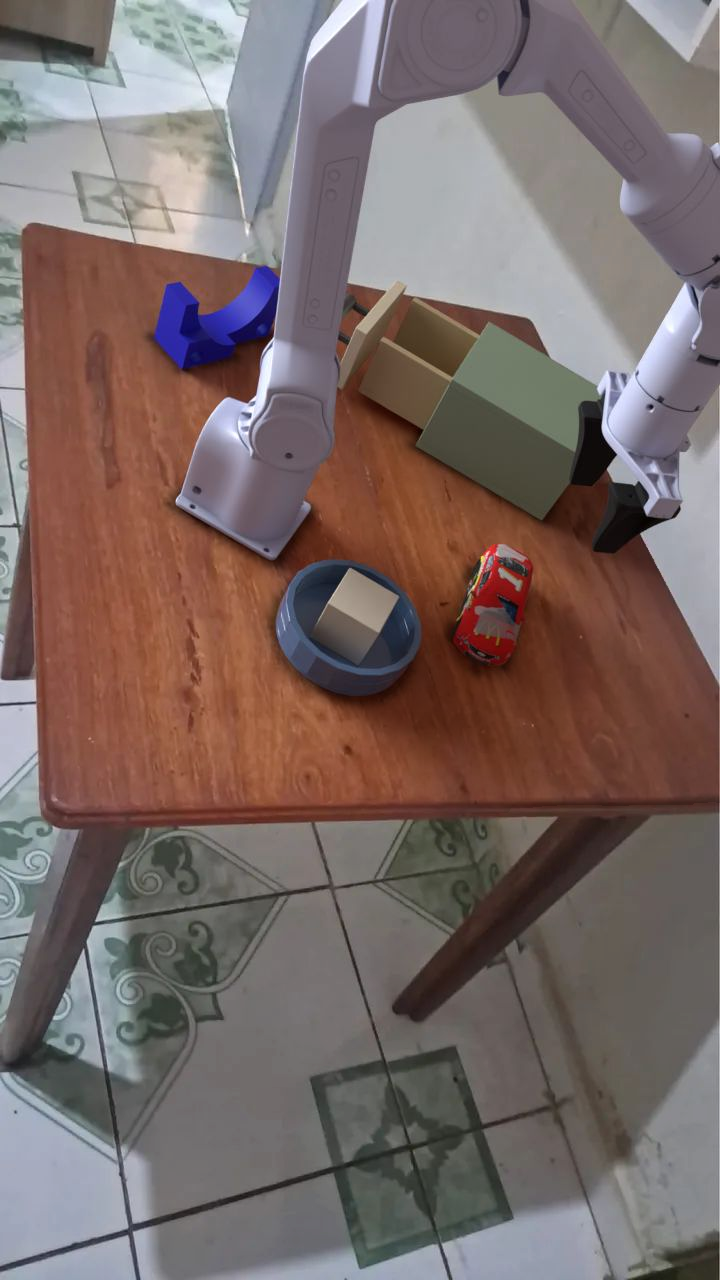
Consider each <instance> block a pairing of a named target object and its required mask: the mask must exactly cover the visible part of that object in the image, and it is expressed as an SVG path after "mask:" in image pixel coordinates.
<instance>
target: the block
mask: <svg viewBox="0 0 720 1280" xmlns="http://www.w3.org/2000/svg"><path fill="white" fill-rule="evenodd" d="M398 598H399V596H398V595H396V594H394V593H393V592H391V591H389V590H388V589H386V588H384V587H382V586H381V585H379V584H377V583H376V582H374V581H372V580H370V579H369V578H367V577H365V576H364V575H362V574H360V573H359V572H357V571H355V570H353V569H352V568H349V570H348V571H347V573H346V574H345V576H344V578H343V579H342V581H341V583H340V584H339V586H338V587H337V589H336V591H335V592H334V594H333V595H332V597H331V599H330V600H329V602H328V603H327V605H326V607H325V609H324V611H323V613H322V615H321V616H320V618H319V620H318V622H317V624H316V626H315V627H314V629H313V631H312V633H311V635H310V638H312V639H314V640H315V641H317V642H319V643H320V644H322V645H324V646H326V647H327V648H329V649H331V650H332V651H334V652H336V653H338V654H339V655H341V656H343V657H344V658H346V659H348V660H350V661H351V662H353V663H355V664H356V665H358V666H359V665H360V663H361V662H362V660H363V658H364V657H365V655H366V654H367V652H368V651H369V649H370V647H371V646H372V644H373V643H374V641H375V640H376V638H377V636H378V635H379V633H380V631H381V630H382V628H383V626H384V624H385V622H386V620H387V619H388V617H389V615H390V613H391V611H392V609H393V608H394V606H395V604H396V602H397V600H398Z"/></svg>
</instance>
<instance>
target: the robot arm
mask: <svg viewBox="0 0 720 1280" xmlns="http://www.w3.org/2000/svg"><path fill="white" fill-rule="evenodd" d="M495 79H496V83H497V93H498V95H499V96H502V97H514V96H520V95H521V96H522V95H528V94H529V95H530V94H538V93H542V94H544V95H545V96H546V97H547V98H549V100H550V101H551V102H552V103H553V104H554V105H555V106H556V107H557V108H558V109H559V110H560V111H561V113H562V114H563V115H564V116H565V117H566V118H567V119H568V120H569V122H571V123H572V125H574V126H575V128H576V129H577V130H578V131H579V132H580V133H581V134H582V135H583V136H584V137H585V139H587V141H588V142H590V144H591V145H592V146H593V147H594V148H595V149H596V150H597V152H599V153H600V155H601V156H602V157H603V158H604V159H605V160H606V161H607V163H609V164H610V165H611V167H612V168H613V169H614V170H615V171H616V172H617V173H618V174H619V175H620V176H621V178H622V185H621V189H620V195H619V209H620V211H621V212H622V214H623V215H624V216H625V217H626V218H627V220H628V221H629V222H630V224H631V225H633V226H634V228H635V229H636V230H637V231H638V232H639V233H640V235H641V236H642V237H643V238H644V239H645V241H647V243H648V244H649V245H650V246H651V247H652V249H653V250H654V251H655V252H656V254H658V256H659V257H660V258H661V259H662V261H664V263H665V264H666V265H667V267H669V269H670V270H671V271H672V272H673V273H674V275H675V276H676V277H677V278H679V280H681V281H682V282H684V284H683V285H682V287H681V289H680V290H679V292H678V294H677V296H676V297H675V300H674V301H673V303H672V304H671V307H670V308H669V310H668V312H667V313H666V314H665V316H664V318H663V320H662V322H661V323H660V325H659V327H658V329H657V330H656V332H655V334H654V336H653V338H652V339H651V341H650V343H649V344H648V346H647V348H646V350H645V352H644V353H643V355H642V357H641V358H640V361H639V362H638V364H637V365H636V367H635V369H634V371H633V372H632V374H631V376H630V374H629V372H622V371H615V370H609V369H606V370H605V373H604V374H603V376H602V378H601V380H600V381H599V384H598V385H597V386H598V387H597V390H598V393H599V395H600V396H601V399H598V400H597V402H595V401H582V402H581V403H580V405H579V407H578V412H579V433H578V441H577V447H576V451H575V456H574V460H573V464H572V468H571V472H570V477H569V481H570V483H569V485H571V486H579V487H588V488H589V487H590V488H593V487H594V485H596V484H597V482H598V481H600V479H601V478H602V477H603V476H604V474H605V472H606V471H607V470H608V468H609V467H610V466H611V464H612V463H613V461H614V460H615V458H617V456H618V457H619V459H620V460H621V461H622V462H623V464H624V465H625V466H626V467H627V468H628V470H629V471H630V472H631V473H632V475H633V476H634V477H635V478H636V480H637V482H636V483H635V485H634V484H633V483H625V482H616V481H615V482H614V481H611V482H609V484H608V486H607V487H608V488H607V489H608V492H607V494H608V497H607V503H606V507H605V511H604V513H603V516H602V519H601V521H600V523H599V524H598V526H597V529H596V531H595V533H594V535H593V538H592V540H591V549H592V551H593V552H594V553H600V554H601V553H602V554H612V555H614V554H616V553H617V552H619V551H620V550H621V549H622V548H623V547H624V546H626V545H627V544H628V543H629V542H631V541H632V540H633V539H635V538H637V536H639V535H640V534H642V533H644V532H645V531H648V530H649V529H651V528H653V527H656V526H658V525H659V524H660V525H661V524H662V523H665V522H668V521H670V520H673V519H675V518H677V517H678V515H679V514H680V512H681V511H682V510H681V509H682V508H681V504H683V502H684V500H683V497H682V495H681V491H680V457H681V455H680V453H686V452H688V450H689V449H690V448H691V446H692V443H691V440H690V438H689V436H688V433H689V432H690V430H691V428H693V426H694V424H695V423H696V421H697V419H698V418H699V417H700V415H701V414H702V413H703V411H704V409H705V407H706V406H707V405H708V403H709V402H710V400H711V399H712V397H713V396H714V395H715V393H716V391H717V389H718V388H719V387H720V142H716V143H714V144H713V145H712V146H711V147H710V148H709V146H708V145H707V144H706V143H705V141H704V140H703V138H702V137H700V136H699V135H697V134H695V133H667V132H665V130H664V129H663V128H662V126H661V124H660V123H659V122H658V120H657V119H656V118H655V116H654V115H653V113H652V112H651V110H650V108H648V106H647V105H646V103H645V102H644V101H643V99H642V98H641V96H640V95H639V93H638V92H637V91H636V89H635V88H634V86H633V85H632V83H631V82H630V81H629V79H628V78H627V76H626V75H625V73H624V72H623V71H622V70H621V67H620V66H618V64H617V62H616V61H615V60H614V58H613V56H612V55H611V54H610V53H609V51H608V50H607V48H606V47H605V45H604V44H603V42H602V41H601V40H600V38H599V37H598V36H597V34H596V33H595V31H594V30H593V28H592V27H591V26H590V24H589V22H588V21H587V19H585V17H584V15H582V12H581V11H580V10H579V8H578V7H577V6H576V4H575V3H574V1H572V0H341V1H340V3H339V4H338V5H337V7H336V8H335V9H334V10H333V11H332V13H331V14H330V16H329V17H328V18H327V19H326V21H324V23H323V24H322V26H321V27H320V28H319V30H318V31H317V32H316V34H315V35H314V36H313V38H312V40H311V41H310V44H309V48H308V51H307V54H306V59H305V64H304V70H303V75H302V84H301V90H300V91H301V92H300V99H299V100H300V101H299V111H298V118H297V119H298V120H297V127H296V137H295V145H294V154H293V162H292V165H293V166H292V170H291V171H292V172H291V180H290V189H289V196H288V205H287V214H286V215H287V216H286V225H285V234H284V242H283V249H282V251H283V252H282V261H281V267H280V277H279V279H280V286H279V294H278V303H277V312H276V316H275V320H274V333H273V336H272V339H270V341H269V342H268V344H267V345H266V346H265V347H264V349H263V351H262V353H261V356H260V363H259V371H260V372H259V379H258V384H257V390H256V395H255V396H254V397H252V398H251V400H249V402H244V401H242V400H238V399H236V398H233V397H230V396H228V397H225V398H224V399H223V400H222V401H220V402H219V404H218V405H217V406H216V408H215V409H214V410H213V411H212V413H211V414H210V416H209V417H208V419H207V420H206V422H205V424H204V425H203V427H202V430H201V432H200V434H199V436H198V439H197V441H196V444H195V446H194V449H193V453H192V455H191V459H190V463H189V466H188V468H187V472H186V475H185V478H184V482H183V486H182V489H181V492H180V494H179V495H178V496H177V497H176V499H175V505H176V506H177V507H178V508H179V509H182V510H183V511H185V512H187V513H188V514H190V515H192V516H193V517H195V518H196V519H198V520H200V521H202V522H203V523H205V524H207V525H208V526H210V527H212V528H214V529H216V530H217V531H219V532H220V533H223V534H224V535H226V536H228V537H229V538H231V539H232V540H234V541H236V542H237V543H239V544H241V545H243V546H244V547H246V548H248V549H250V550H251V551H253V552H254V553H256V554H258V555H260V556H261V557H263V558H265V559H267V560H269V561H275V560H276V559H277V558H278V557H279V555H280V554H281V552H282V551H283V550H284V549H285V547H286V546H287V544H288V543H289V542H290V540H291V538H293V535H294V534H295V533H296V532H297V530H298V528H300V526H301V525H302V523H303V522H304V521H305V519H306V518H307V516H308V515H309V514H310V512H311V510H312V505H311V503H310V502H307V501H305V500H306V498H307V495H308V493H309V490H310V488H311V486H312V483H313V481H314V479H315V477H316V475H317V473H318V471H319V468H320V466H321V465H323V464H324V463H325V462H326V461H327V460H328V459H329V457H330V456H331V454H332V453H333V451H334V448H335V442H336V441H335V439H336V435H335V434H336V432H335V430H334V427H335V417H336V404H337V394H338V387H337V385H338V382H339V380H340V373H341V365H340V364H341V361H340V357H339V355H338V353H337V346H338V341H339V340H338V334H339V331H340V328H341V322H342V321H341V317H342V311H343V306H344V300H345V295H346V294H347V293H346V292H347V288H348V283H349V276H350V272H351V271H350V270H351V265H352V260H353V259H352V258H353V255H354V248H355V243H356V236H357V230H358V225H359V219H360V213H361V210H362V209H361V207H362V202H363V197H364V191H365V186H366V185H365V184H366V181H367V174H368V168H369V162H370V157H371V150H372V145H373V138H374V133H375V128H376V124H377V123H378V122H379V121H380V120H381V119H383V118H386V117H387V116H388V115H390V114H392V113H394V112H396V111H398V110H399V109H401V108H403V107H404V106H406V105H410V104H411V105H412V104H415V103H416V104H417V103H421V102H427V101H433V100H439V99H443V98H448V97H454V96H459V95H463V94H466V93H467V94H468V93H470V92H474V91H476V90H479V89H481V88H483V87H485V86H486V85H488V84H489V83H491V82H492V81H493V80H495Z"/></svg>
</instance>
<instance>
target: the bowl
mask: <svg viewBox="0 0 720 1280" xmlns="http://www.w3.org/2000/svg"><path fill="white" fill-rule="evenodd" d="M349 568H352V569H353V570H355V571H357V572H359V573H360V574H362V575H364V576H365V577H367V578H369V579H370V580H372V581H374V582H376V583H377V584H379V585H381V586H382V587H384V588H386V589H388V590H389V591H391V592H393V593H394V594H396V595H398V596H399V598H398V600H397V602H396V604H395V606H394V608H393V609H392V611H391V613H390V615H389V617H388V619H387V620H386V622H385V624H384V626H383V628H382V630H381V631H380V633H379V635H378V636H377V638H376V640H375V641H374V643H373V644H372V646H371V647H370V649H369V651H368V652H367V654H366V655H365V657H364V658H363V660H362V662H361V663H360V665H359V666H358V665H356V664H355V663H353V662H351V661H350V660H348V659H346V658H344V657H343V656H341V655H339V654H338V653H336V652H334V651H332V650H331V649H329V648H327V647H326V646H324V645H322V644H320V643H319V642H317V641H315V640H314V639H312V638H310V635H311V633H312V631H313V629H314V627H315V626H316V624H317V622H318V620H319V618H320V616H321V615H322V613H323V611H324V609H325V607H326V605H327V603H328V602H329V600H330V599H331V597H332V595H333V594H334V592H335V591H336V589H337V587H338V586H339V584H340V583H341V581H342V579H343V578H344V576H345V574H346V573H347V571H348V570H349ZM275 617H276V618H275V631H276V637H277V641H278V643H279V646H280V648H281V650H282V652H283V654H284V656H285V658H286V659H287V660H288V662H289V663H290V664H291V666H292V667H293V668H295V670H297V672H298V673H300V674H301V676H303V677H304V678H305V679H307V680H309V682H312V683H313V684H315V685H316V686H318V687H320V688H322V689H324V690H327V691H329V692H332V693H336V694H339V695H344V696H355V697H362V696H363V697H364V696H370V695H374V694H377V693H380V692H382V691H385V690H387V689H388V688H390V687H391V686H392V685H394V684H395V683H396V682H397V681H398V679H399V678H401V676H402V675H403V674H404V673H405V671H406V670H407V668H408V667H409V666H410V664H411V662H412V661H413V660H414V658H415V656H416V654H417V653H418V650H419V648H420V646H421V643H422V642H421V641H422V640H421V639H422V625H421V621H420V618H419V614H418V610H417V609H416V607H415V605H414V603H413V602H412V600H411V599H410V597H409V596H408V594H407V592H406V591H404V589H402V588H401V587H400V586H399V585H398V584H397V583H396V582H395V581H394V580H393V579H392V578H390V577H389V576H388V575H386V574H384V573H383V572H381V571H379V570H377V569H376V568H374V567H372V566H370V565H366V564H364V563H361V562H358V561H355V560H352V559H351V560H350V559H337V558H335V559H334V558H329V559H323V560H320V561H315V562H312V563H310V564H308V565H307V566H305V567H304V568H302V569H301V570H299V571H297V572H296V575H294V577H293V579H292V580H291V582H290V583H289V584H288V587H287V589H286V590H285V593H284V594H283V597H282V599H281V600H280V603H279V606H278V609H277V613H276V616H275Z"/></svg>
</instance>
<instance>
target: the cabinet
mask: <svg viewBox="0 0 720 1280" xmlns="http://www.w3.org/2000/svg"><path fill="white" fill-rule="evenodd" d="M479 335H480V336H479V338H478V339H477V341H476V343H475V344H474V346H473V347H472V349H471V350H470V352H469V353H468V355H467V357H466V358H465V360H464V361H463V363H462V364H461V366H460V367H459V369H458V370H457V372H456V374H455V375H454V377H453V378H452V380H451V382H450V384H449V385H448V387H447V389H446V391H445V393H444V395H443V396H442V398H441V400H440V402H439V404H438V406H437V407H436V409H435V411H434V413H433V415H432V417H431V418H430V420H429V422H428V424H427V426H426V427H425V429H424V430H422V433H421V435H420V437H418V441H417V442H416V443H415V447H416V448H417V449H420V450H421V451H423V452H425V453H426V454H428V455H430V456H432V457H433V458H435V459H437V460H438V461H439V462H441V463H443V464H444V465H447V466H448V467H450V468H452V469H453V470H455V471H457V472H459V473H460V474H461V475H463V476H465V477H467V478H469V479H470V480H471V481H473V482H475V483H477V484H479V485H480V486H482V487H484V488H486V489H487V490H489V491H491V493H492V492H493V494H496V495H498V496H499V497H501V498H503V499H504V500H506V501H508V502H509V503H511V504H513V505H514V506H515V507H518V508H520V509H521V510H523V511H524V512H526V513H528V514H530V515H531V516H533V517H534V518H536V519H539V520H540V521H543V520H544V519H545V517H546V516H547V514H548V513H549V512H550V510H551V509H552V508H553V507H554V505H555V504H556V502H557V501H558V500H559V498H560V497H561V496H562V494H563V493H564V491H566V489H567V487H568V486H569V485H570V481H569V477H570V472H571V468H572V464H573V460H574V456H575V451H576V447H577V441H578V433H579V412H578V407H579V405H580V403H581V402H582V401H595V402H597V400H598V399H601V396H600V395H599V393H598V390H597V387H598V386H599V385H596V384H595V383H593V382H592V381H590V380H588V379H587V378H585V377H584V376H581V375H579V374H578V373H577V372H575V371H573V370H572V369H570V368H568V367H566V366H565V365H563V364H562V363H560V362H558V361H556V360H555V359H553V358H551V357H550V356H548V355H546V354H544V353H543V352H541V351H539V350H538V349H536V348H534V347H533V346H531V345H529V344H528V343H526V342H524V341H523V340H521V339H520V338H517V337H516V336H515V335H512V334H511V333H509V332H507V331H506V330H505V329H502V328H501V327H500V326H497V325H495V324H494V323H492V322H491V321H488V322H487V324H486V326H485V327H484V329H483V330H482V331H481V333H480V334H479Z"/></svg>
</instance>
